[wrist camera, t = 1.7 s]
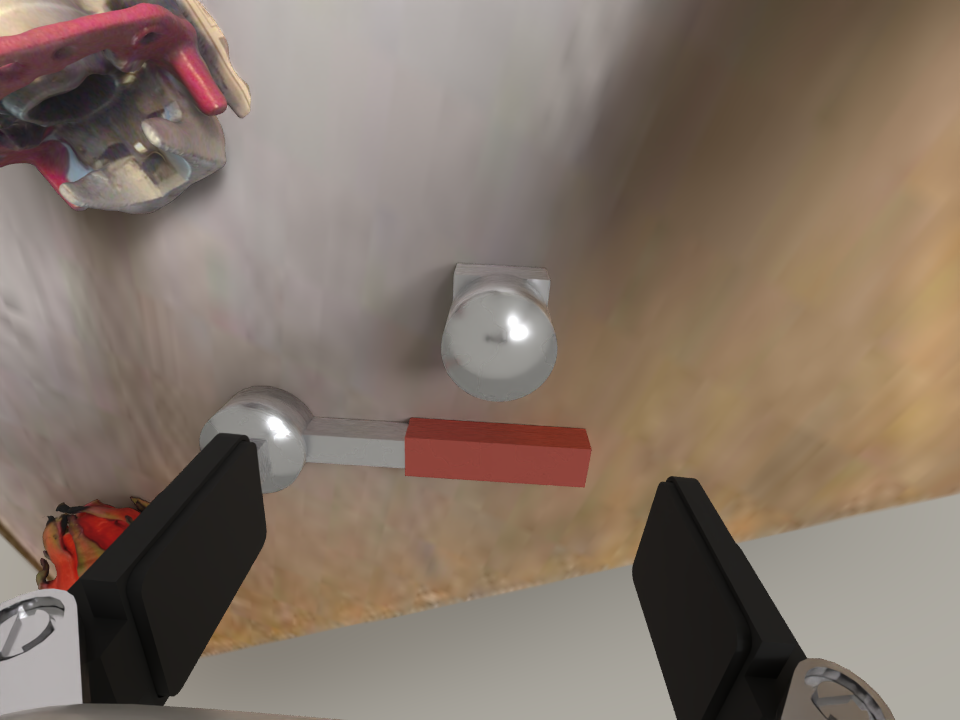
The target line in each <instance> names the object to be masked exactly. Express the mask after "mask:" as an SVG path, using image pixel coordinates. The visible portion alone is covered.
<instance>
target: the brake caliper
mask: <svg viewBox="0 0 960 720" xmlns="http://www.w3.org/2000/svg"><path fill="white" fill-rule="evenodd" d="M227 103H228V104H229V105H230V107H231V108H232V109H233V111H234V112H235V113H236V114H237V115H238V117H240V118H244V117H245V116H246V115H247V114H248V113H249V112H250V103H251V95H250V90H249V87H248V85H247V83H245V82H244V81H243V80H242V79H240V78H239V77H238V75H237V74H236V73H235V71H234V70H233V68H232V66H231V63H230V61H229V49H228V44H227V41H226V39H225V37H224V35H223V34H222V32H221V30H220V29H219V27H218V26H217V24H216V23H215V21H214V20H213V18H212V17H211V16H210V15H209V14H208V12H207V11H206V10H205V9H204V7H203V6H202V5H201V4H200V2H198V1H197V0H0V167H3V166H6V165H9V164H15V163H29V164H32V165H34V166H35V167H36V168H37V169H38V170H39V171H40V173H41V174H42V175H43V176H44V177H45V178H46V179H47V180H48V182H49V183H50V184H51V185H52V187H53V188H54V189H55V191H56V192H57V193H58V194H59V195H60V196H61V197H62V198H63V199H64V200H65V202H66V203H67V204H68V205H69V206H70V207H71V208H72V209H74V210H76V211H82V210H86V209H87V208H94V209H102V210H111V211H121V212H125V213H129V214H139V213H152V212H154V211H156V210H158V209H160V208H161V207H163V206H165V205H166V204H168V203H170V202H171V201H173V200H174V199H175V198H177V197H178V196H179V195H180V194H181V193H182V192H183V191H184V190H185V189H186V188H188V187H189V186H190V185H192V184H193V183H195V182H197V181H199V180H201V179H203V178H205V177H207V176H209V175H210V174H212V173H214V172H216V171H217V170H219V169H220V168H222V167H223V166H224V165H225V163H226V155H225V148H224V147H225V138H224V133H223V130H222V127H221V125H220V123H219V121H218V119H217V118H216V116H215V115H218V114H221V113H223V112H224V111H225V110H226V108H227Z"/></svg>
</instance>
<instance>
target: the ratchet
mask: <svg viewBox="0 0 960 720" xmlns="http://www.w3.org/2000/svg"><path fill="white" fill-rule="evenodd" d="M218 433H231V434H241V435H246V436H248V438H249V440H250V442H254V443H255V444H256V447H257V454H258V462H259V471H260V479H261V487H262V493H272V492H277V491H280V490H282V489H284V488H286V487H288V486H289V485H290V484H292V483H293V482H294V481H295V479H296V478H297V477H298V475H299V473H300V472H301V470H302V468H303V466H304V465H305V463H306V462H314V463H330V464H345V465H361V466H376V467H391V468H405V476H417V477H432V478H448V479H463V480H478V481H494V482H509V483H524V484H540V485H555V486H571V487H585V482H586V477H587V472H588V466H589V461H590V455H591V450H592V449H591V446H590V443H589V439H588V436H587V433H586V430H585V429H579V428H564V427H548V426H533V425H517V424H502V423H486V422H470V421H455V420H439V419H424V418H410V422H409V423H402V422H387V421H371V420H355V419H340V418H324V417H313V415H312V413H311V412H310V410H309V409H308V408H307V406H306V405H305V404H304V403H303V402H302V401H300V400H299V399H298V398H296V397H295V396H293V395H292V394H290V393H288V392H286V391H284V390H281V389H278V388H274V387H268V386H256V387H250V388H246V389H244V390H242V391H240V392H238V393H237V394H235V395H234V396H233V397H232V398H231V399H230V400H229V401H228V402H227V403H226V404H225V405H224V406H223V407H222V408H221V409H220V410H219V411H218V412H217V413H216V414H215V415H214V416H213V417H212V418H211V419H210V420H208V422H207V423H206V424H205V425H204V427H203V429H202V431H201V434H200V450H201V451H202V450H203V448H204V447H205V446H206V445H207V444H208V443H209V442H210V441H211V440H212V439H213V438H214V437H215V436H216V435H217V434H218Z"/></svg>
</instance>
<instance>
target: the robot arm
mask: <svg viewBox="0 0 960 720" xmlns="http://www.w3.org/2000/svg"><path fill="white" fill-rule="evenodd" d="M266 533H267V531H266V521H265V513H264V504H263V496H262V487H261V479H260V471H259V462H258V454H257V447H256V444H255V443H254V442H250V440H249V438H248V436H246V435H241V434H231V433H218V434H217V435H216V436H215V437H214V438H213V439H212V440H211V441H210V442H209V443H208V444H207V445H206V446H205V447H204V448H203V450H202V451H201V452H200V453H199V454H198V455H197V456H196V457H195V458H194V459H193V460H192V461H191V462H190V463H189V464H188V465H187V466H186V467H185V469H184V470H183V471H182V472H181V473H180V474H179V475H178V476H177V477H176V478H175V479H174V480H173V481H172V482H171V483H170V484H169V485H168V487H167V488H166V489H165V490H164V491H162V492H161V493H160V494H159V495H158V496H157V497H156V498H155V499H154V500H153V501H152V502H151V503H150V504H149V505H148V506H147V507H146V508H145V509H144V510H143V511H142V513H141V514H140V515H139V516H138V517H137V518H136V519H135V520H134V521H133V522H132V523H131V524H130V525H129V526H128V527H127V528H126V529H125V530H124V531H123V533H122V534H121V535H120V536H119V537H118V538H117V539H116V540H115V541H114V542H113V543H112V544H111V545H110V546H109V547H108V548H107V549H106V550H105V551H104V553H103V554H102V555H101V556H100V557H99V558H98V559H97V560H96V561H95V562H94V563H93V564H92V565H91V566H90V567H89V568H88V569H87V570H86V571H85V573H84V574H83V575H82V576H81V577H80V578H79V579H78V580H77V581H76V582H75V583H74V584H73V585H72V586H71V587H70V588H69V589H68V590H67V591H65V590H59V589H42V590H36V591H32V592H29V593H25V594H21V595H18V596H16V597H14V598H12V599H9V600H7V601H5V602H3V603H1V604H0V720H340V719H326V718H315V717H302V716H291V715H279V714H265V713H254V712H242V711H230V710H217V709H201V708H186V707H170V706H164V704H165V702H166V701H167V699H168V697H169V696H175V695H176V694H178V693H179V692H180V690H181V689H182V687H183V686H184V684H185V682H186V680H187V679H188V677H189V675H190V673H191V671H192V670H193V668H194V666H195V664H196V663H197V661H198V659H199V658H200V656H201V654H202V652H203V651H204V649H205V647H206V645H207V644H208V642H209V640H210V638H211V637H212V635H213V633H214V631H215V630H216V628H217V626H218V624H219V623H220V621H221V619H222V617H223V616H224V614H225V612H226V610H227V609H228V607H229V605H230V603H231V602H232V600H233V598H234V596H235V595H236V593H237V591H238V589H239V588H240V586H241V584H242V582H243V580H244V579H245V577H246V575H247V573H248V572H249V570H250V568H251V566H252V565H253V563H254V561H255V559H256V558H257V556H258V554H259V552H260V551H261V549H262V547H263V545H264V542H265V539H266ZM632 576H633V581H634V585H635V588H636V591H637V594H638V598H639V601H640V604H641V607H642V610H643V613H644V616H645V620H646V623H647V626H648V629H649V632H650V635H651V638H652V642H653V645H654V648H655V651H656V654H657V658H658V661H659V664H660V667H661V670H662V673H663V677H664V680H665V683H666V686H667V689H668V692H669V696H670V699H671V702H672V705H673V708H674V711H675V715H676V718H677V720H895V718H894V716H893V714H892V712H891V711H890V709H889V707H888V706H887V705H886V703H885V702H884V701H883V699H882V698H881V697H880V696H879V694H877V692H876V691H874V690H873V689H872V688H871V687H870V686H869V685H868V684H867V683H866V682H865V681H864V680H862V679H861V678H860V677H858V676H857V675H855V674H854V673H853V672H851V671H850V670H848V669H846V668H844V667H842V666H840V665H838V664H836V663H834V662H831V661H827V660H824V659H820V658H818V659H817V658H815V659H814V658H808V659H807V657H806V656H805V654H804V652H803V651H802V649H801V647H800V646H799V644H798V642H797V641H796V639H795V638H794V636H793V634H792V632H791V631H790V629H789V627H788V626H787V624H786V623H785V621H784V619H783V618H782V616H781V614H780V613H779V611H778V610H777V608H776V606H775V604H774V603H773V601H772V599H771V598H770V596H769V595H768V593H767V591H766V589H765V588H764V586H763V584H762V583H761V581H760V580H759V578H758V576H757V575H756V573H755V571H754V570H753V568H752V566H751V565H750V563H749V561H748V560H747V558H746V556H745V555H744V553H743V551H742V550H741V549H740V547H739V546H738V545H737V544H736V543H735V541H734V540H733V538H732V536H731V535H730V533H729V531H728V530H727V528H726V526H725V525H724V523H723V521H722V520H721V518H720V516H719V515H718V513H717V511H716V510H715V508H714V506H713V505H712V503H711V501H710V500H709V498H708V496H707V495H706V493H705V491H704V490H703V488H702V486H701V485H700V483H699V482H698V480H696V479H694V478H684V477H674V476H671V477H669V478H668V479H667V480H666V482H660V484H659V485H658V488H657V491H656V494H655V497H654V501H653V504H652V507H651V510H650V513H649V516H648V519H647V522H646V526H645V529H644V532H643V535H642V538H641V541H640V544H639V547H638V551H637V554H636V557H635V560H634V563H633V568H632Z"/></svg>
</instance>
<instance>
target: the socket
mask: <svg viewBox="0 0 960 720" xmlns="http://www.w3.org/2000/svg"><path fill="white" fill-rule="evenodd" d="M550 281H551V280H550V277H549V275H548V272H547V269H546V268H532V267H516V266H500V265H484V264H468V263H457V266H456V269H455V272H454V282H453V302H452V305H451V307H450V311H449V315H448V318H447V322H446V325H445V329H444V333H443V337H442V342H441V355H442V360H443V364H444V367H445V369H446V371H447V373H448V375H449V376H450V377H451V379H452V380H453V381H454V382H455V384H456V385H457V386H459V387H460V388H461V389H462V390H464V391H465V392H467V393H468V394H470V395H472V396H474V397H477V398H480V399H483V400H487V401H501V402H502V401H510V400H515V399H518V398H521V397H524V396H526V395H528V394H530V393H531V392H533V391H534V390H536V389H537V388H538V387H540V386H541V385H542V384H543V383H544V382H545V380H546V379H547V378H548V376H549V375H550V373H551V371H552V369H553V367H554V364H555V362H556V357H557V339H556V335H555V331H554V328H553V325H552V321H551V318H550V314H549V311H548V308H547V306H548V298H549V289H550Z"/></svg>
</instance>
